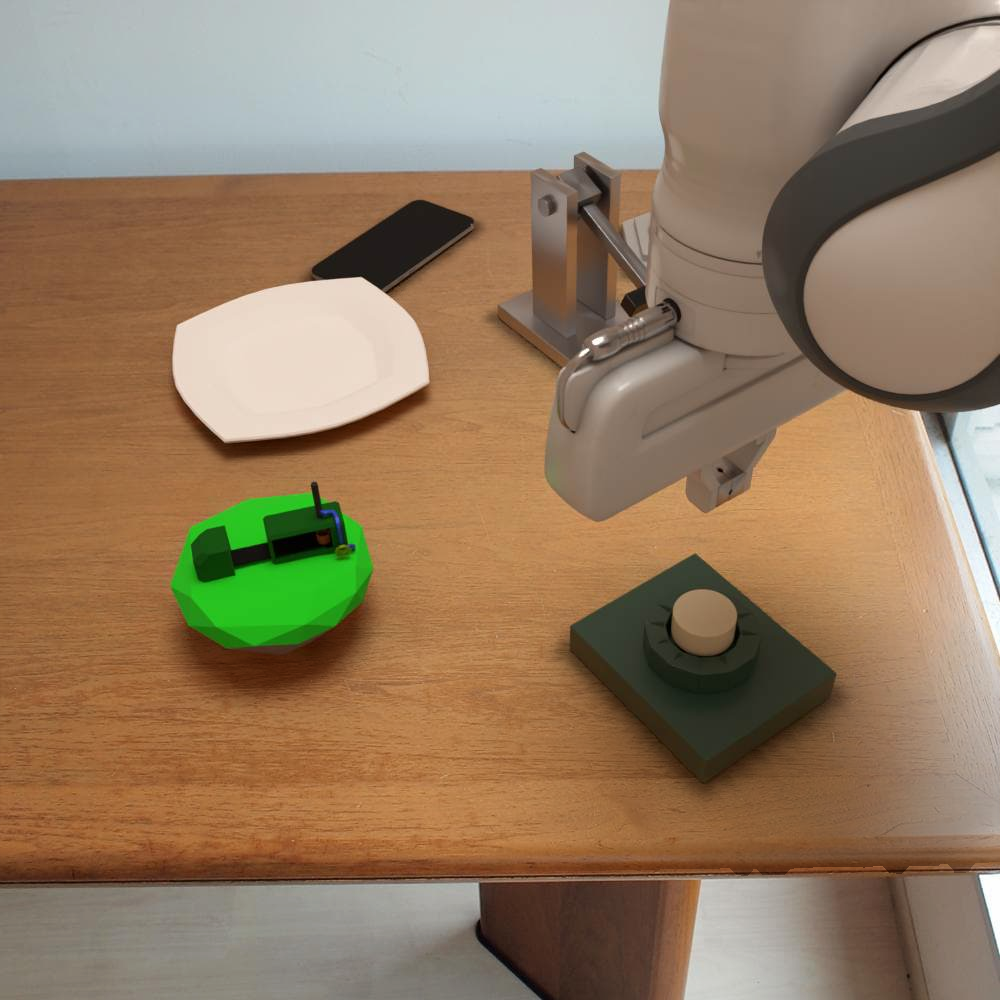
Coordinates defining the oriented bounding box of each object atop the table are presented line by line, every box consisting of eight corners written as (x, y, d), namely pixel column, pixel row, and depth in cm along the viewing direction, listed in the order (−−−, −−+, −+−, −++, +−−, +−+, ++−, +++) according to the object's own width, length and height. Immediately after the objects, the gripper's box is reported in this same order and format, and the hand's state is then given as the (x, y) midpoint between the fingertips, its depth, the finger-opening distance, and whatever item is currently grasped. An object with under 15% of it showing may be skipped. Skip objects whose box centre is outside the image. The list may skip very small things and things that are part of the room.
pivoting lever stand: (652, 338, 97) (662, 182, 87) (572, 376, 94) (574, 218, 84) (574, 283, 103) (576, 131, 93) (497, 317, 100) (491, 163, 90)
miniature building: (358, 535, 82) (338, 408, 74) (395, 666, 74) (376, 538, 66) (178, 574, 80) (139, 447, 72) (195, 714, 72) (152, 587, 64)
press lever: (680, 298, 89) (691, 278, 87) (627, 323, 87) (637, 303, 85) (587, 181, 93) (595, 159, 90) (534, 202, 91) (541, 180, 88)
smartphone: (479, 219, 110) (369, 297, 101) (479, 226, 110) (370, 304, 101) (416, 197, 113) (305, 270, 104) (417, 203, 113) (306, 277, 105)
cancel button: (747, 637, 70) (750, 617, 68) (700, 667, 68) (702, 647, 67) (704, 599, 72) (706, 579, 71) (658, 627, 70) (659, 607, 69)
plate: (377, 279, 104) (375, 260, 103) (462, 408, 91) (460, 388, 90) (154, 338, 99) (149, 318, 98) (210, 483, 86) (205, 462, 85)
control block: (831, 696, 71) (842, 652, 68) (703, 784, 67) (709, 741, 64) (692, 576, 78) (697, 532, 75) (569, 649, 74) (569, 605, 71)
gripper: (608, 392, 47) (597, 624, 57) (958, 222, 56) (897, 450, 65) (513, 317, 51) (518, 546, 61) (854, 168, 59) (810, 391, 69)
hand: (716, 495), depth 63 cm, fingers closed
